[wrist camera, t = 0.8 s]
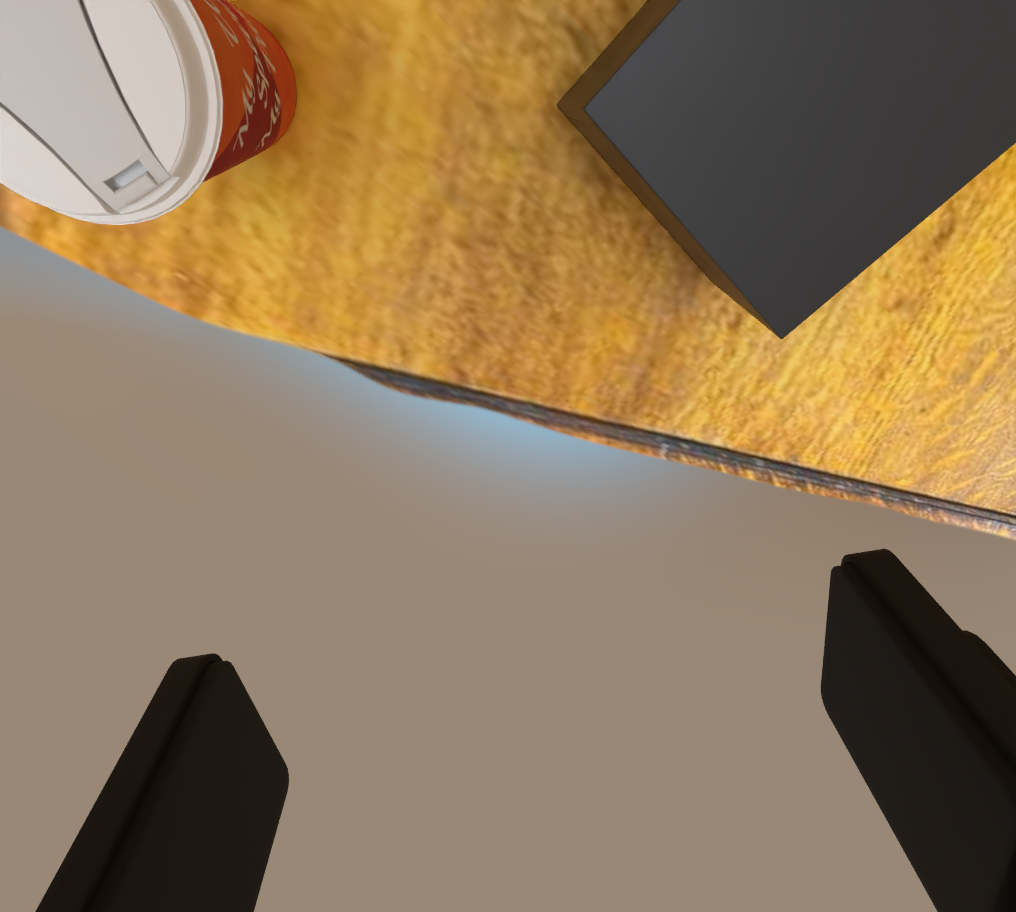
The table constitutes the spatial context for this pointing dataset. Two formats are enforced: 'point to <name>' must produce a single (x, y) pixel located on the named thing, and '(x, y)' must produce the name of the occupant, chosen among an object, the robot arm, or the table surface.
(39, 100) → the coffee cup
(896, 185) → the cabinet
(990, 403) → the table surface
